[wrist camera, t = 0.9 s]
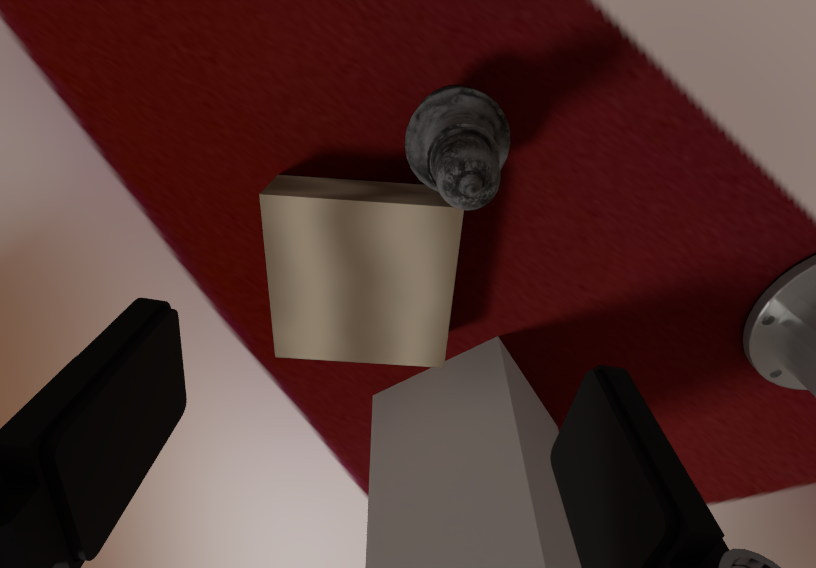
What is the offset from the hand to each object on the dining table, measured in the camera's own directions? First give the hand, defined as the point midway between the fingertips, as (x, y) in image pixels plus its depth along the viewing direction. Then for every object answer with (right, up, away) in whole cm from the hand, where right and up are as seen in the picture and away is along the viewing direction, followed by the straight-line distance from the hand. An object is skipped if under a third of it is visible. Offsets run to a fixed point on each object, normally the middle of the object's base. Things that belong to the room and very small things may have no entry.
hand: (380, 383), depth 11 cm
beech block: (-2, +4, +23) cm, 23 cm away
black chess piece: (+3, +12, +18) cm, 22 cm away
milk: (+6, -9, +30) cm, 32 cm away
